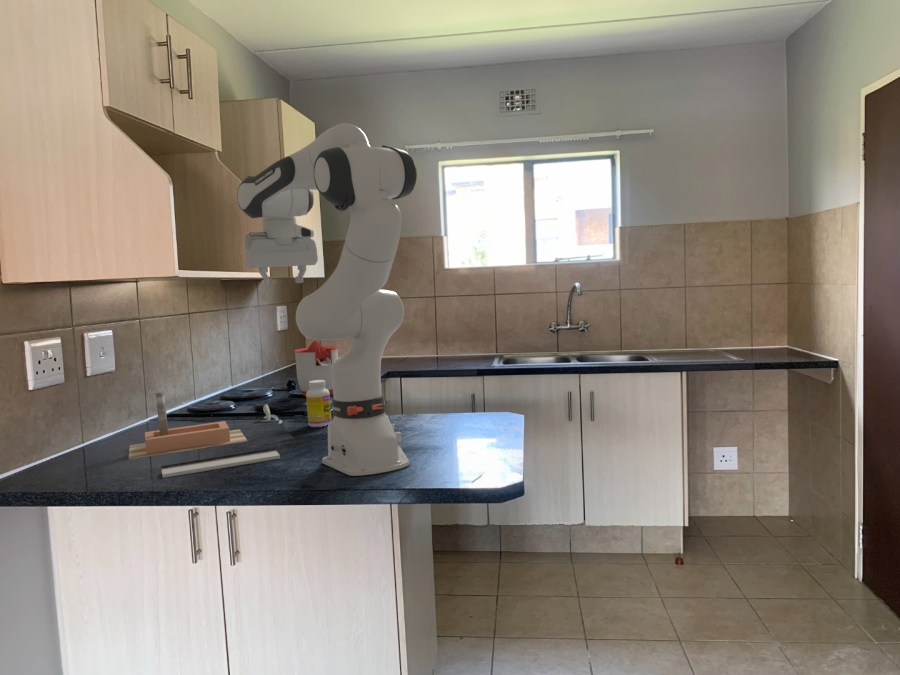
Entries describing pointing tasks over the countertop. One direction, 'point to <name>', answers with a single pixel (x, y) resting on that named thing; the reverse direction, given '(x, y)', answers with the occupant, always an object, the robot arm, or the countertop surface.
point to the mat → (219, 462)
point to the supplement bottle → (318, 404)
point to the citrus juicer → (315, 365)
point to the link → (187, 437)
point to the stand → (140, 449)
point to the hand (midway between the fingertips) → (284, 284)
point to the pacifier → (268, 416)
